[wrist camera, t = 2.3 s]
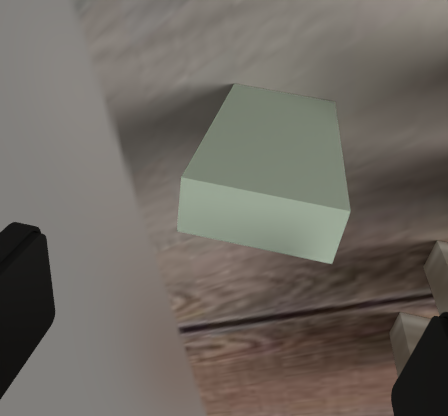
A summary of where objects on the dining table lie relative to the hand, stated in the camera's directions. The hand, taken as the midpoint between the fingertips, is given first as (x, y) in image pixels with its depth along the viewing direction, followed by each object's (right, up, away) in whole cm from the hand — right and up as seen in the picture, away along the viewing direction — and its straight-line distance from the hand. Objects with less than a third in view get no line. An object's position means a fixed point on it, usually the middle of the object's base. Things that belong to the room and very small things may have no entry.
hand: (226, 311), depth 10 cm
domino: (+3, +7, +11) cm, 13 cm away
